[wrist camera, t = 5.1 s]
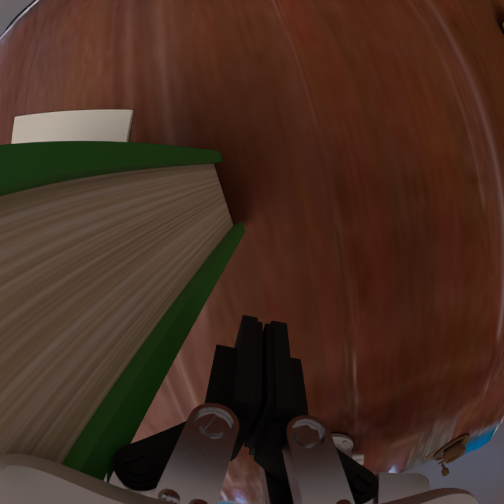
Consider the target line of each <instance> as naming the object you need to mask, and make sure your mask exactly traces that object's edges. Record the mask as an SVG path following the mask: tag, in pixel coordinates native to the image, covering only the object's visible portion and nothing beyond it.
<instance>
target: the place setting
mask: <svg viewBox="0 0 504 504" xmlns="http://www.w3.org/2000/svg"><path fill="white" fill-rule="evenodd" d="M465 437H466V438H465ZM462 438H465V440H464V441H463V442H462V443H457V441H458V440H460V439H462ZM469 439H470V436H469V435H468V434H464V435H461V436H459V437H457V438H455V439H453V440H452V441H450V442H449V443H447V444H446V445H444V446H443V447H442V448H441V449H439V450H438V451H437V452H436V454H435V456H434V460H435V461H438V460H441V459H444V460H442V461H440V462H439V463H438V464H441V466H442V468H443V469H442V475H443V476H446V475H447V474H449V470H448V468H445V467H444V464H443V462H444V461H445V463H450V462H452V461H454V460H456V459H457V458H459V457H460V456H461V455H463V454H464V453H465V451H466V448H465V446H464V445H465V444H466V443H467V442H468V441H469ZM455 442H456V443H455ZM439 447H440V446H439ZM439 447H438V448H439ZM447 447H448V448H447ZM438 448H437V449H438ZM446 448H447V449H446ZM437 449H436V450H437ZM444 449H446V451H445V452H444V454H443V455H441V456H438V454H440V453H441V452H442V451H443V450H444ZM436 450H435V451H436ZM435 451H434V452H435ZM434 452H432V453H431V454H429V455H428V456H427V457H426V460H427V459H429V458H430V457H431V456H432V455H433V454H434Z"/></svg>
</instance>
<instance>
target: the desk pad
mask: <svg viewBox="0 0 504 504" xmlns="http://www.w3.org/2000/svg"><path fill="white" fill-rule="evenodd" d="M133 113H134V110H76V111H61V112H49V113H39V114H31V115H24V116H17V117H15V121H14V128H13V135H12V144H16V143H29V142H48V141H114V142H128V141H129V135H130V129H131V123H132V118H133Z"/></svg>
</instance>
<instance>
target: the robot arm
mask: <svg viewBox="0 0 504 504" xmlns="http://www.w3.org/2000/svg"><path fill="white" fill-rule="evenodd" d="M243 443H244V446H245V447H248V448H249V455H254V461H256V462H257V463H258V464H259V465H260V467H259V471H260V477H261V483H262V489H263V495H264V501H265V504H478V502H477V500H476V498H475V497H474V496H473V495H472V494H471V493H470V492H468V491H466V490H463V489H457V488H441V489H435V490H430V483H429V480H428V479H427V477H426V476H424V475H422V474H418V473H381V472H379V473H378V474H373V473H372V472H371V471H369V470H368V469H366V468H365V467H364V466H362V465H363V463H364V459H363V458H364V453H356V454H353V453H352V452H351V450H352V449H353V441H352V439H351V438H350V437H349V436H347V435H343V434H337V433H331V432H330V430H329V428H328V426H327V425H326V424H325V423H324V422H323V421H322V420H320V419H319V418H317V417H314V416H311V415H308V407H307V400H306V392H305V385H304V378H303V371H302V364H301V360H300V359H296V358H291V357H290V348H289V339H288V331H287V324H286V323H282V322H276V321H271V323H270V324H267V323H266V324H265V326H264V329H263V332H262V323H261V322H258V318H256V317H251V316H246V315H243V317H242V320H241V324H240V328H239V332H238V335H237V339H236V343H235V347H234V348H231V347H227V346H222V345H216V350H215V355H214V360H213V365H212V369H211V374H210V379H209V384H208V389H207V394H206V399H205V404H202V405H199V406H197V407H196V408H194V409H193V410H192V412H191V413H190V415H189V417H188V419H187V421H185V422H183V423H181V424H179V425H177V426H174V427H172V428H170V429H167V430H165V431H162V432H160V433H158V434H155V435H153V436H150V437H148V438H145V439H142V440H140V441H137V442H134V443H132V444H129V445H126V446H124V447H122V448H120V449H119V450H118V451H117V452H116V453H115V454H114V457H113V459H112V467H113V469H114V471H113V474H112V476H111V478H110V480H109V483H108V479H107V474H106V477H105V479H104V481H102V480H100V479H97V478H94V477H92V476H89V475H87V474H84V473H82V472H80V471H77V470H75V469H72V468H70V467H67V466H64V465H62V464H59V463H57V462H54V461H51V460H48V459H44V458H40V457H36V456H31V455H26V454H7V455H4V456H2V457H0V504H217V502H218V498H219V495H220V492H221V489H222V486H223V482H224V479H225V476H226V472H227V469H228V466H229V462H230V461H232V460H233V459H235V458H236V457H237V455H238V453H239V451H240V449H241V447H242V445H243Z"/></svg>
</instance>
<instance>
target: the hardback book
mask: <svg viewBox="0 0 504 504" xmlns="http://www.w3.org/2000/svg"><path fill="white" fill-rule="evenodd" d="M222 161H223V160H222V156H221V153H220V151H214V150H207V149H199V148H191V147H182V146H172V145H161V144H149V143H134V142H114V141H48V142H29V143H16V144H5V145H0V457H2V456H4V455H7V454H26V455H31V456H36V457H40V458H44V459H48V460H51V461H54V462H57V463H59V464H62V465H64V466H67V467H70V468H72V469H75V470H77V471H80V472H82V473H84V474H87V475H89V476H92V477H94V478H97V479H100V480H102V481H104V479H105V477H106V474H107V479H108V483H109V480H110V478H111V476H112V474H113V471H114V469H113V467H112V459H113V457H114V454H115V453H116V452H117V451H118V450H119V449H120V448H122V447H124V446H126V445H129V444H130V443H131V441H132V439H133V437H134V436H135V434H136V432H137V430H138V428H139V426H140V424H141V422H142V420H143V418H144V416H145V414H146V412H147V410H148V409H149V407H150V405H151V403H152V401H153V399H154V397H155V395H156V393H157V391H158V390H159V388H160V386H161V384H162V382H163V380H164V378H165V376H166V374H167V373H168V371H169V369H170V367H171V365H172V363H173V361H174V360H175V358H176V356H177V354H178V352H179V350H180V348H181V347H182V345H183V343H184V341H185V339H186V337H187V335H188V334H189V332H190V330H191V328H192V326H193V324H194V323H195V321H196V319H197V317H198V315H199V313H200V312H201V310H202V308H203V306H204V304H205V303H206V301H207V299H208V297H209V295H210V294H211V292H212V290H213V288H214V286H215V285H216V283H217V281H218V279H219V277H220V276H221V274H222V272H223V270H224V268H225V267H226V265H227V263H228V261H229V259H230V258H231V256H232V254H233V252H234V251H235V249H236V247H237V245H238V244H239V242H240V240H241V238H242V236H243V235H244V233H245V230H244V227H243V223H242V222H240V223H236V224H233V223H232V220H231V217H230V214H229V210H228V207H227V204H226V201H225V198H224V195H223V192H222V188H221V185H220V182H219V179H218V176H217V173H216V169H215V166H214V164H216V163H219V162H222Z"/></svg>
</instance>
